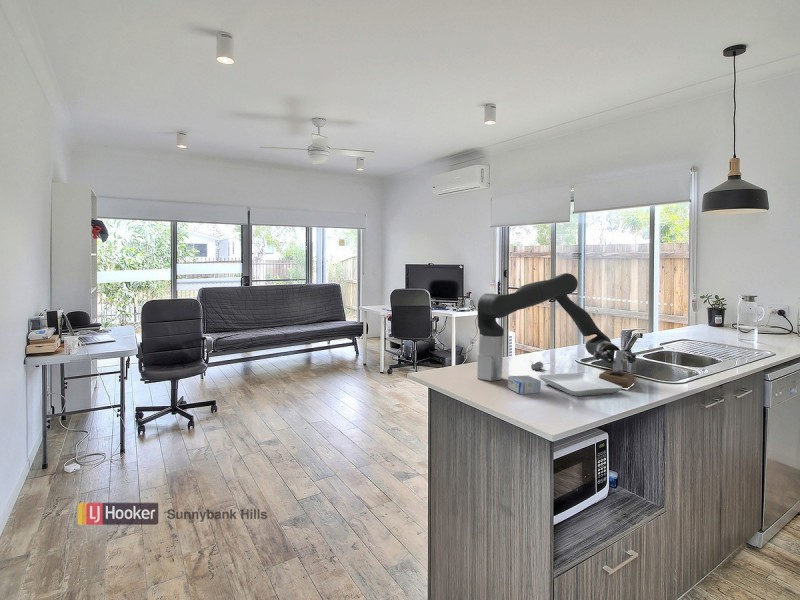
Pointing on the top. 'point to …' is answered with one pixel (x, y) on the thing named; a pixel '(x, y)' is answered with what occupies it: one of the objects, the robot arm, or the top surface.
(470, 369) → the top surface
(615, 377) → the hole block
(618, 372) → the tall pin
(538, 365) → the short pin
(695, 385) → the top surface
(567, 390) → the salad plate
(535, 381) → the medicine box
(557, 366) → the top surface
